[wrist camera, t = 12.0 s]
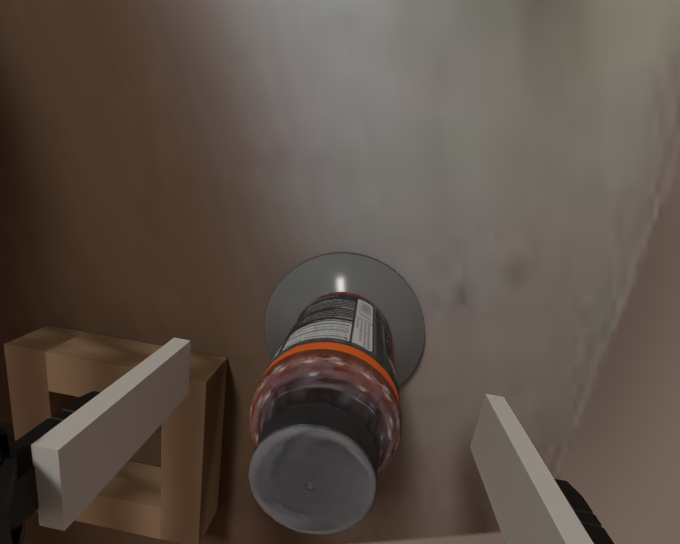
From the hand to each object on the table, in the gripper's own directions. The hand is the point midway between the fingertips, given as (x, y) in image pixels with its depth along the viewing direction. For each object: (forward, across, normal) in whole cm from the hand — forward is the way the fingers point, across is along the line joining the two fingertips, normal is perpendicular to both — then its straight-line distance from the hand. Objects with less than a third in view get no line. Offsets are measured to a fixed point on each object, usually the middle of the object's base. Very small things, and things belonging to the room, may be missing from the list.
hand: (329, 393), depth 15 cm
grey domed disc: (+7, 0, 0) cm, 7 cm away
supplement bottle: (+7, 0, 0) cm, 7 cm away
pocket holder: (+7, -14, -10) cm, 19 cm away
